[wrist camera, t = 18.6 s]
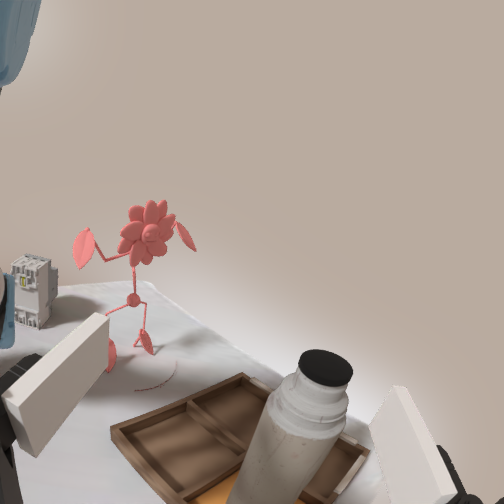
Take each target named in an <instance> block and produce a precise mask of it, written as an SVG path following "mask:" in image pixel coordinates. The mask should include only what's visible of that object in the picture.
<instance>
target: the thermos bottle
mask: <svg viewBox="0 0 504 504" xmlns="http://www.w3.org/2000/svg"><path fill="white" fill-rule="evenodd" d="M352 375H353V369H352V367H351V365H350V364H349V363H348V362H347V361H346V360H345V359H343V358H342V357H340V356H339V355H337V354H334V353H332V352H329V351H325V350H318V349H313V350H308V351H305V352H304V353H303V354H302V355H301V357H300V360H299V362H298V368H297V370H296V372H295V373H292V374H290V375H288V376H286V377H285V378H284V379H283V381H282V383H281V385H280V386H279V387H278V388H277V389H275V390H274V391H273V392H272V393H271V394H270V395H269V397H268V399H267V402H266V404H265V407H264V410H263V412H262V415H261V418H260V420H259V423H258V425H257V428H256V431H255V433H254V436H253V438H252V441H251V443H250V446H249V448H248V451H247V453H246V456H245V458H244V461H243V463H242V466H241V468H240V471H239V474H238V477H237V479H236V481H235V483H234V485H233V487H232V490H231V492H230V494H229V496H228V499H227V501H226V503H225V504H294V503H295V501H296V500H297V499H298V497H299V495H300V493H301V492H302V490H303V489H304V488H305V487H306V485H307V484H308V483H309V482H310V480H311V479H312V478H313V476H314V475H315V473H316V472H317V470H318V469H319V467H320V466H321V464H322V463H323V461H324V460H325V458H326V457H327V455H328V454H329V452H330V450H331V449H332V447H333V446H334V444H335V442H336V441H337V439H338V437H339V436H340V434H341V432H342V431H343V429H344V427H345V424H346V415H345V414H346V412H347V406H348V396H347V394H346V392H345V390H346V388H347V386H348V382H349V381H350V379H351V377H352Z"/></svg>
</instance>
